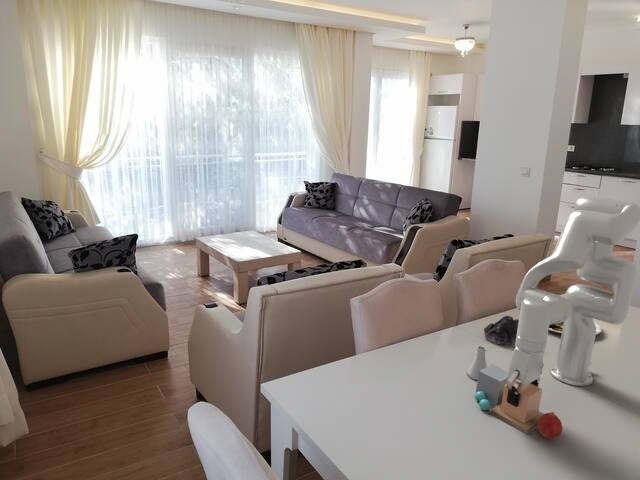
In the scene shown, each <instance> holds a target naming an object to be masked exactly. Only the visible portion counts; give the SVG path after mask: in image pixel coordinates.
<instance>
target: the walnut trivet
mask: <svg viewBox="0 0 640 480" xmlns="http://www.w3.org/2000/svg"><path fill="white" fill-rule="evenodd" d="M501 404H502V403H501ZM501 404H499V405H498V406H496V405H495V407H493V408H490V411H489V414H491V415H492V416H493V417H496V418H498V419H500V420H501V421H503V422H504V423H507V424H509V425H510V426H512V427H514V428H516V429H518V430H519V431H521V432H523V433H525V434H527V435H528V433H530V432H531V431H533V430H534V429H536V428H538V420H539V418H540V417H541V416H543V415H544V414H545V413H543V412H541V411H540V410H539V411H538V415H536V416H535V417H533V418H532V419H530V420H529V421H527V422H526V423H523V422H521V421H519V420H517V419H515V418H513V417H512V416H510V415H508V414H506V413H504V412H502V411H501Z"/></svg>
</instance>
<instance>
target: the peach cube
mask: <svg viewBox="0 0 640 480" xmlns="http://www.w3.org/2000/svg"><path fill="white" fill-rule="evenodd" d="M516 381H517V382H520V381H519V380H517V379H516ZM520 383H521V382H520ZM514 386H515V388H516V389H517V387H518V385H517V384H515V383H514ZM519 394H520V399H519V405H518V407H515V406H513V405H511V404H509V403H507V395H508V388H507V384H506V385H504V391H503V398H502V404H501V411H502V412H504V413H506V414H508V415H510V416H512V417H513V418H515V419H517V420H519V421H521V422H523V423H526V422H527V421H529V420H530V419H532V418H533V417H535V416H536V415H538V411H540V405H541V399H542V394H543V388H542V387H540V386H538V387H537V386H535V385H533V384H530V383H529V384H528V385H526V386H522V388H521V390H520V392H519Z"/></svg>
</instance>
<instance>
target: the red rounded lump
mask: <svg viewBox="0 0 640 480" xmlns="http://www.w3.org/2000/svg"><path fill="white" fill-rule="evenodd" d="M537 429H538V430H539V432H540V433H541V435H542V436H544V438H545V439H547V440H551V439H555V438H558V437H559V436H560V435H561V433H562V432H563V424H562V421H561V419H560V418H559V417H558V416H557V415H556V414H555V411H551V412H546V413H544V415H543V416H541V417H540V418H539V420H538V426H537Z"/></svg>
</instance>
